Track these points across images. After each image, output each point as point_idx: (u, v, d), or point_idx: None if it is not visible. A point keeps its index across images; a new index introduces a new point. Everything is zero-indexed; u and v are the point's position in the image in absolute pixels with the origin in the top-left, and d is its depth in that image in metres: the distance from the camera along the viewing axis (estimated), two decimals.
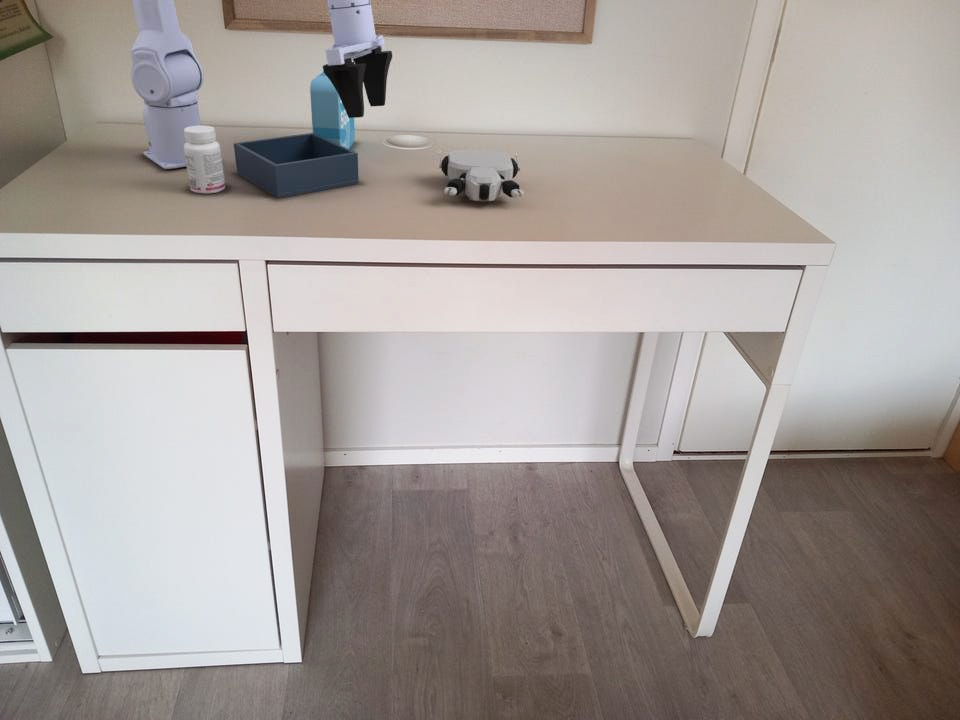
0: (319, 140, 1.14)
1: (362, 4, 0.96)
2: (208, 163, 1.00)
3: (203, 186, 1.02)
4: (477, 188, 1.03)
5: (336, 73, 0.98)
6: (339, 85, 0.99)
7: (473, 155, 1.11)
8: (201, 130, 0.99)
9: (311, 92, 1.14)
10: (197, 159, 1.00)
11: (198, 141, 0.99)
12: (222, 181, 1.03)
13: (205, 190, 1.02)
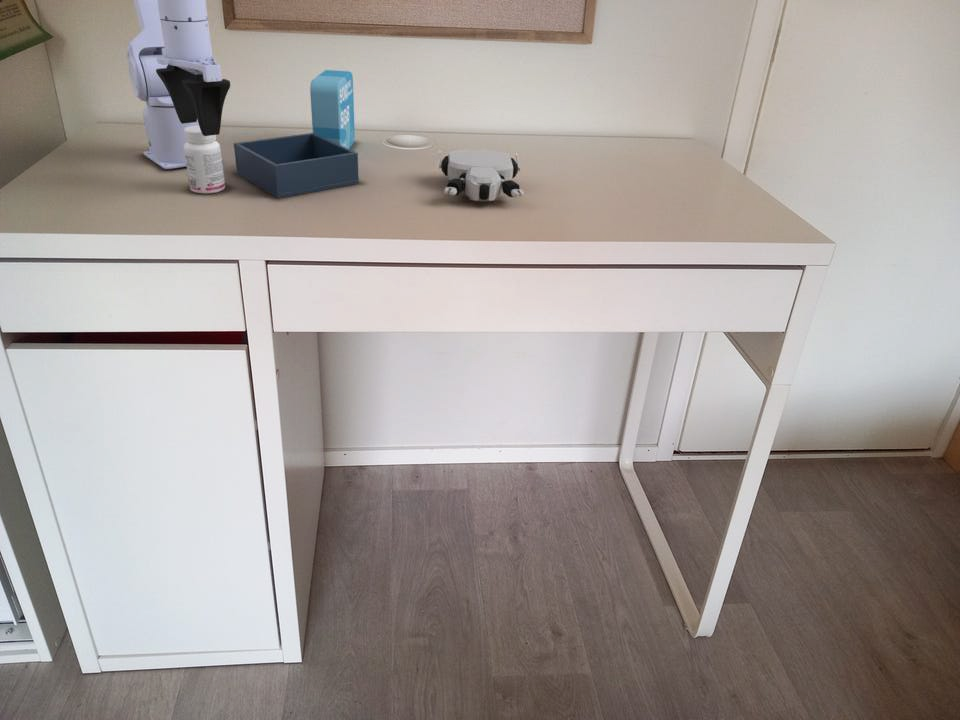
0: (319, 140, 1.14)
1: None
2: (208, 163, 1.00)
3: (203, 186, 1.02)
4: (477, 188, 1.03)
5: None
6: None
7: (473, 155, 1.11)
8: None
9: (311, 92, 1.14)
10: (197, 159, 1.00)
11: (198, 141, 0.99)
12: (222, 181, 1.03)
13: (205, 190, 1.02)
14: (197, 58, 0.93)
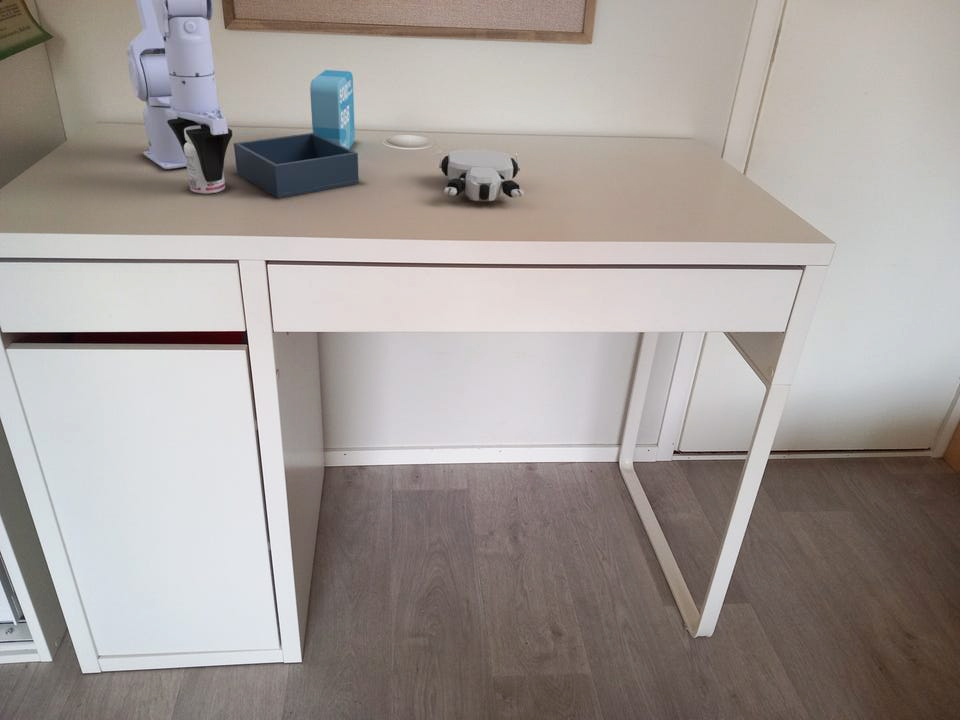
0: (319, 140, 1.14)
1: None
2: None
3: (203, 186, 1.02)
4: (477, 188, 1.03)
5: None
6: None
7: (473, 155, 1.11)
8: None
9: (311, 92, 1.14)
10: (197, 159, 1.00)
11: None
12: (223, 181, 1.03)
13: (205, 190, 1.02)
14: (204, 110, 0.96)
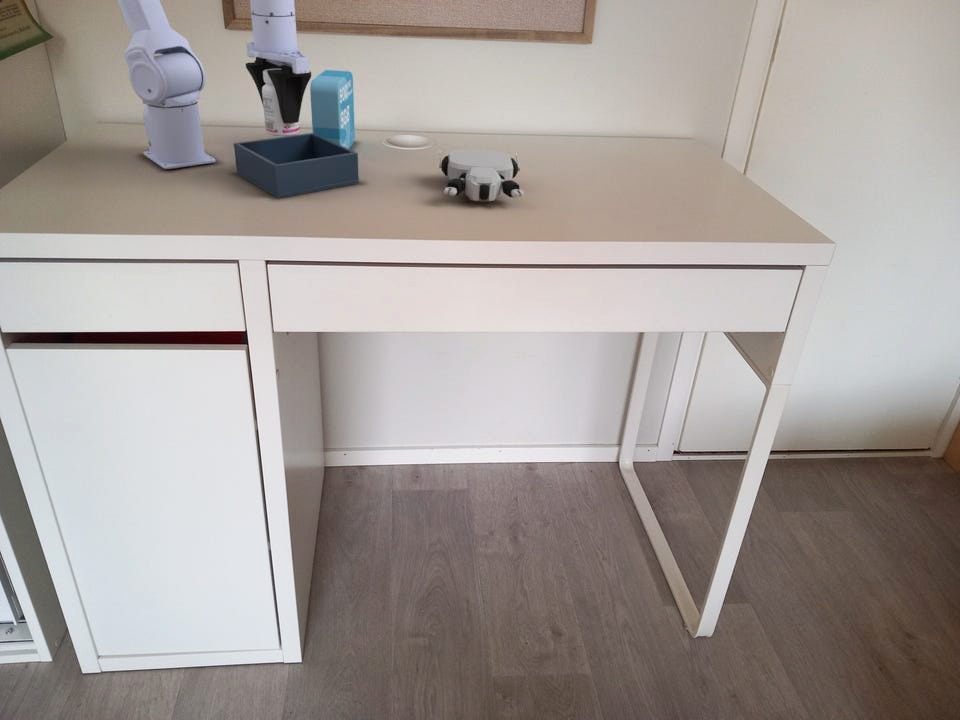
0: (319, 140, 1.14)
1: (251, 12, 0.97)
2: None
3: (280, 128, 1.03)
4: (477, 188, 1.03)
5: None
6: None
7: (473, 155, 1.11)
8: None
9: (311, 92, 1.14)
10: (276, 100, 1.01)
11: None
12: (298, 124, 1.05)
13: (282, 132, 1.04)
14: (285, 51, 0.98)
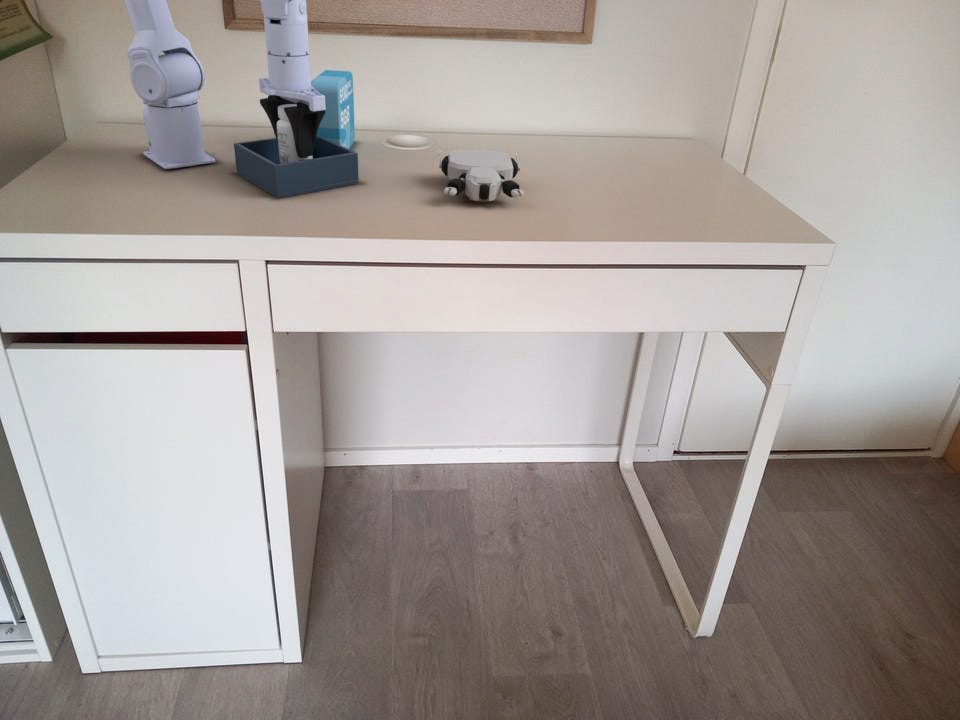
0: (319, 140, 1.14)
1: None
2: None
3: None
4: (477, 188, 1.03)
5: None
6: None
7: (473, 155, 1.11)
8: None
9: None
10: (291, 135, 1.05)
11: None
12: (311, 157, 1.08)
13: None
14: (300, 89, 1.02)
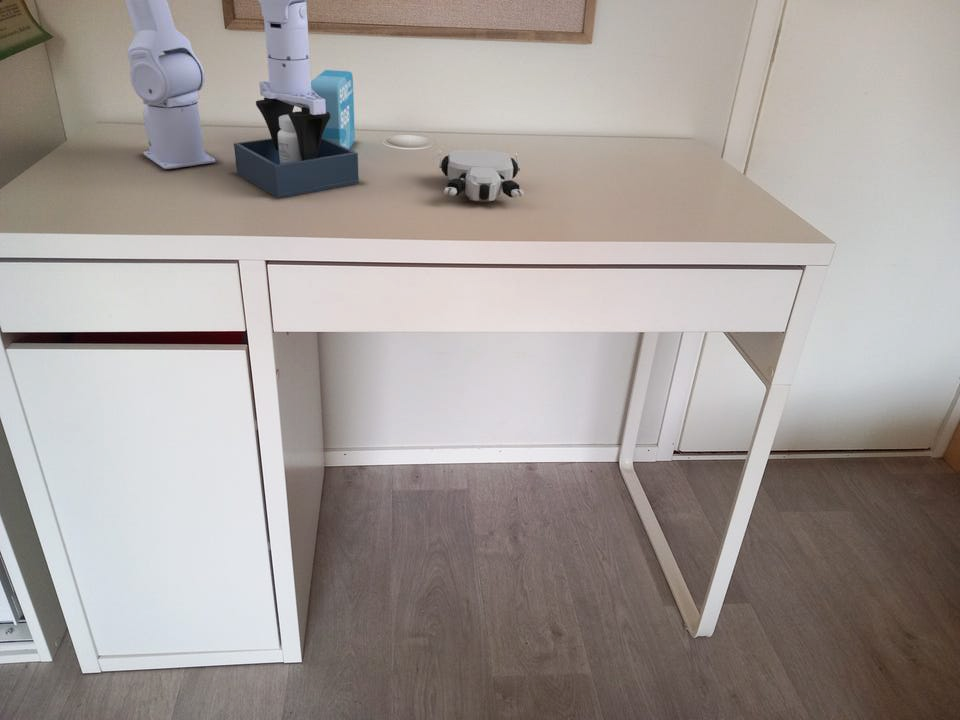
0: None
1: (267, 55, 1.01)
2: None
3: None
4: (477, 188, 1.03)
5: None
6: None
7: (473, 155, 1.11)
8: None
9: None
10: (292, 146, 1.05)
11: (293, 129, 1.05)
12: None
13: None
14: (301, 92, 1.02)
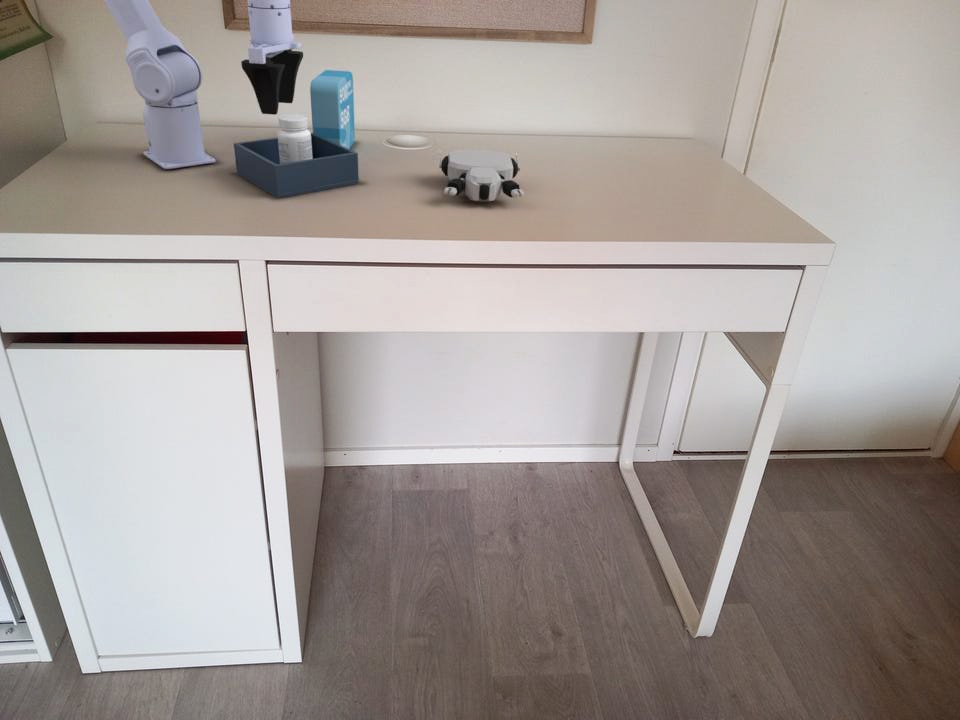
0: (319, 140, 1.14)
1: (284, 7, 1.00)
2: (302, 150, 1.06)
3: None
4: (477, 188, 1.03)
5: (254, 70, 1.01)
6: (256, 82, 1.02)
7: (473, 155, 1.11)
8: (295, 118, 1.05)
9: (311, 92, 1.14)
10: (292, 145, 1.05)
11: (293, 129, 1.05)
12: None
13: None
14: None
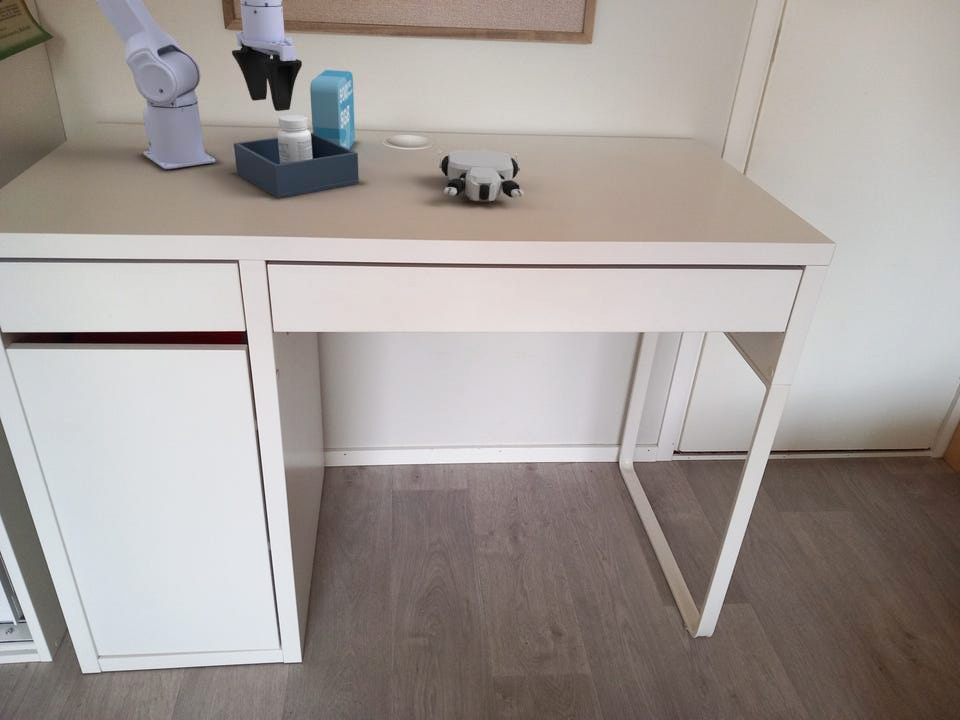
0: (319, 140, 1.14)
1: None
2: (302, 150, 1.06)
3: None
4: (477, 188, 1.03)
5: None
6: None
7: (473, 155, 1.11)
8: (295, 118, 1.05)
9: (311, 92, 1.14)
10: (292, 145, 1.05)
11: (293, 129, 1.05)
12: None
13: None
14: None
